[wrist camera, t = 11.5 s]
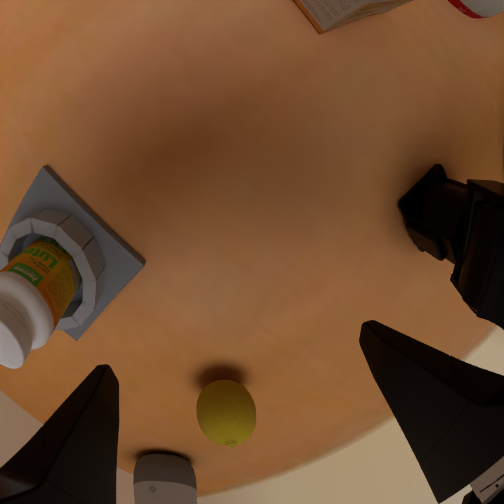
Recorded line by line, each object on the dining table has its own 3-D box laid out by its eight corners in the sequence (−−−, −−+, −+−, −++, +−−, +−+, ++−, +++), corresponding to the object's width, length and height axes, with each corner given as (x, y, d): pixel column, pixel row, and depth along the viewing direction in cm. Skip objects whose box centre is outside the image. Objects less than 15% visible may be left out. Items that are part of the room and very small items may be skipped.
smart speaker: (150, 470, 35) (151, 538, 22) (124, 448, 31) (120, 528, 18) (201, 467, 36) (211, 539, 23) (182, 445, 32) (188, 532, 19)
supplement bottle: (80, 234, 18) (14, 307, 9) (89, 296, 20) (47, 385, 11) (26, 232, 17) (-47, 294, 8) (37, 291, 19) (-15, 367, 10)
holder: (47, 165, 16) (25, 172, 13) (145, 261, 21) (138, 281, 18) (-3, 260, 18) (-21, 276, 15) (79, 335, 22) (69, 358, 19)
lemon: (184, 382, 26) (185, 448, 19) (221, 355, 26) (232, 424, 18) (222, 402, 29) (231, 462, 21) (259, 378, 28) (276, 441, 21)
